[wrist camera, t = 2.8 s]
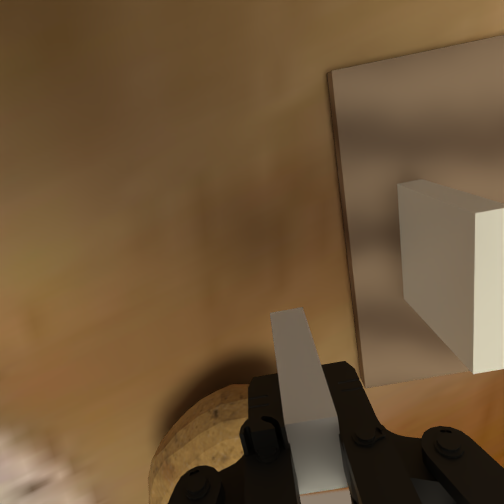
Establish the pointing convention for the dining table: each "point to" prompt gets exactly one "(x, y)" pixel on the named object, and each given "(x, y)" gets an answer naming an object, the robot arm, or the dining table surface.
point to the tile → (455, 268)
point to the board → (404, 170)
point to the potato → (200, 440)
